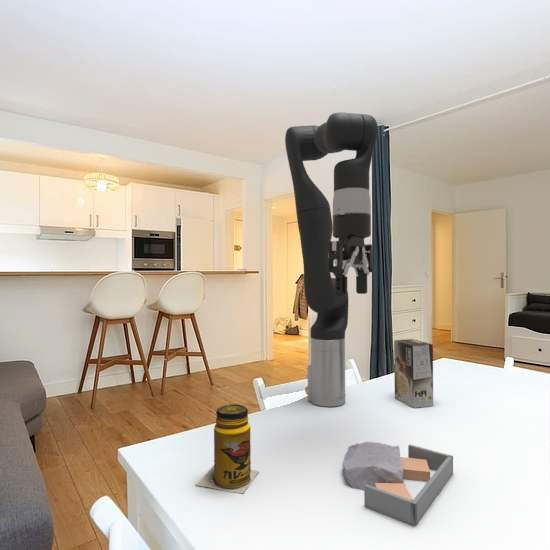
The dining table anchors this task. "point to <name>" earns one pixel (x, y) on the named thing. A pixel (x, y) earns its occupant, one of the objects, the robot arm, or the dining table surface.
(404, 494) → the tile
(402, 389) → the coffee box
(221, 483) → the condiment
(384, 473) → the stone block
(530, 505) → the dining table surface
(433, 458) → the frame
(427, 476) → the tile
